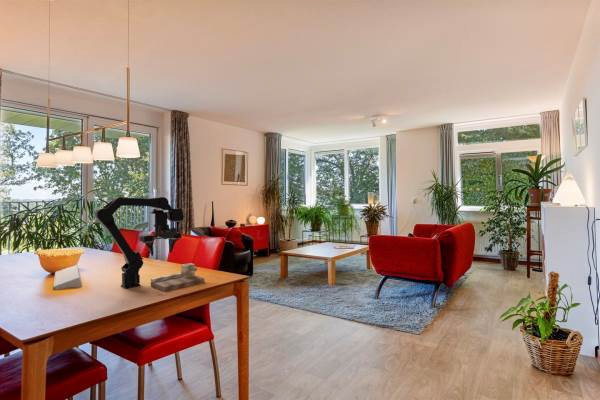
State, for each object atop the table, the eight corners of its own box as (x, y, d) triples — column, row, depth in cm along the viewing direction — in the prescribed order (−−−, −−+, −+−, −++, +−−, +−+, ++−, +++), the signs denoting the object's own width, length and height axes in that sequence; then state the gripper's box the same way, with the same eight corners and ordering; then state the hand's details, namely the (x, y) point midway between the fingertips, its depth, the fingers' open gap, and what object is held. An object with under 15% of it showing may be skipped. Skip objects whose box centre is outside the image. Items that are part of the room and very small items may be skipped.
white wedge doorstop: (57, 296, 150) (82, 286, 156) (53, 286, 149) (78, 277, 155) (58, 280, 178) (80, 272, 184) (55, 272, 177) (77, 264, 183)
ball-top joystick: (191, 280, 157) (191, 267, 157) (181, 277, 164) (181, 264, 163) (200, 278, 161) (200, 265, 161) (190, 275, 167) (190, 263, 167)
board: (164, 291, 146) (164, 283, 146) (150, 286, 155) (150, 278, 155) (204, 282, 161) (204, 275, 161) (189, 277, 170) (189, 271, 170)
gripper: (149, 225, 151) (150, 259, 152) (187, 222, 165) (187, 253, 166) (138, 223, 159) (139, 256, 159) (175, 221, 173) (176, 251, 173)
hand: (161, 254), depth 164 cm, fingers open, 9 cm apart
